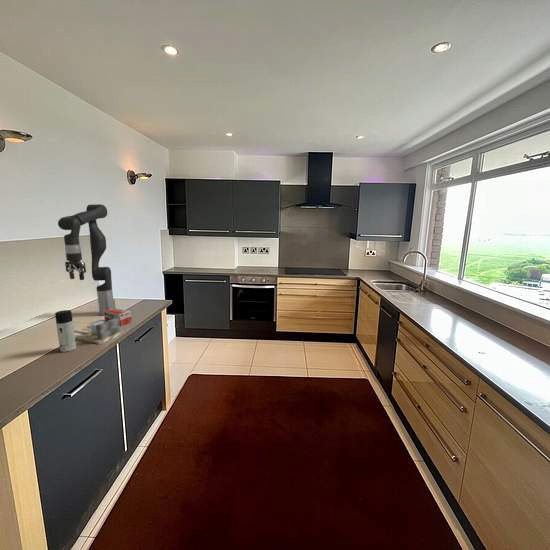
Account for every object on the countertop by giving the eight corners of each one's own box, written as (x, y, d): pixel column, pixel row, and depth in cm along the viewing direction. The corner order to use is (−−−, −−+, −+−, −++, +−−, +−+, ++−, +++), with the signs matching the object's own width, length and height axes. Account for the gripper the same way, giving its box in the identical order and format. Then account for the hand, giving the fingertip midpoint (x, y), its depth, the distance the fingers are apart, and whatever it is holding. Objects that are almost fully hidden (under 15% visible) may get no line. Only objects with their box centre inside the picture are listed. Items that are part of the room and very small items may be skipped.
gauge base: (93, 327, 177) (91, 312, 176) (124, 333, 168) (123, 317, 166) (66, 337, 163) (64, 321, 161) (99, 344, 153) (96, 327, 152)
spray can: (62, 347, 149) (56, 310, 145) (77, 345, 152) (72, 309, 148) (58, 353, 143) (52, 314, 139) (75, 350, 146) (69, 312, 142)
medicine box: (131, 322, 187) (130, 310, 185) (120, 326, 179) (119, 314, 178) (115, 319, 193) (114, 307, 191) (104, 323, 185) (102, 311, 184)
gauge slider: (102, 330, 167) (100, 321, 166) (110, 332, 165) (108, 322, 164) (84, 337, 158) (83, 327, 157) (92, 339, 156) (91, 328, 154)
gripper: (88, 252, 170) (91, 279, 173) (71, 251, 175) (75, 277, 178) (75, 253, 163) (79, 281, 166) (58, 252, 168) (62, 279, 171)
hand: (77, 279), depth 172 cm, fingers open, 8 cm apart
